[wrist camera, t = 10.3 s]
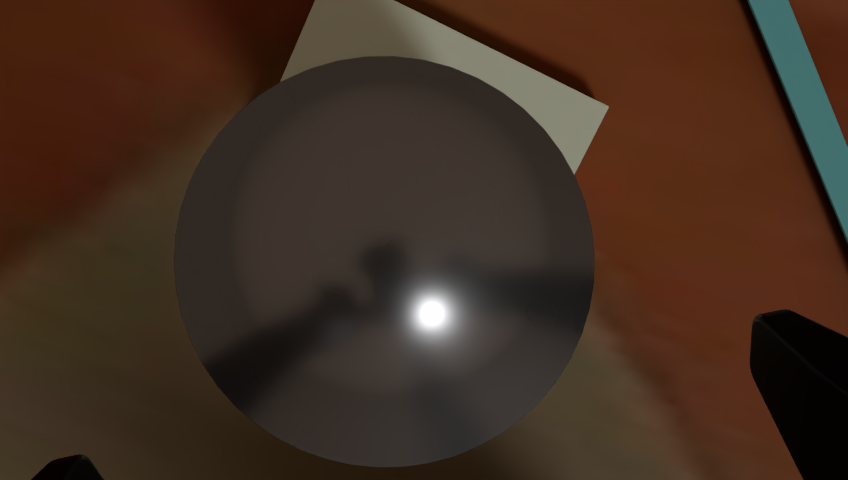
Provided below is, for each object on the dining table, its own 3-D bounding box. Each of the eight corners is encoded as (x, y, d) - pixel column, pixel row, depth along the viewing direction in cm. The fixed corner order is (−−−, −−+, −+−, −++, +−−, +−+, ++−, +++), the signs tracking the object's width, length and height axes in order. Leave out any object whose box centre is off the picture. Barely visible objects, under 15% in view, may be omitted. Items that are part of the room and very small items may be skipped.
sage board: (471, 360, 22) (474, 370, 22) (217, 244, 22) (207, 249, 21) (600, 107, 21) (608, 106, 20) (333, -25, 20) (328, -32, 19)
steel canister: (443, 290, 21) (480, 527, 9) (293, 222, 21) (111, 368, 8) (516, 142, 20) (670, 172, 8) (362, 67, 20) (274, -23, 8)
